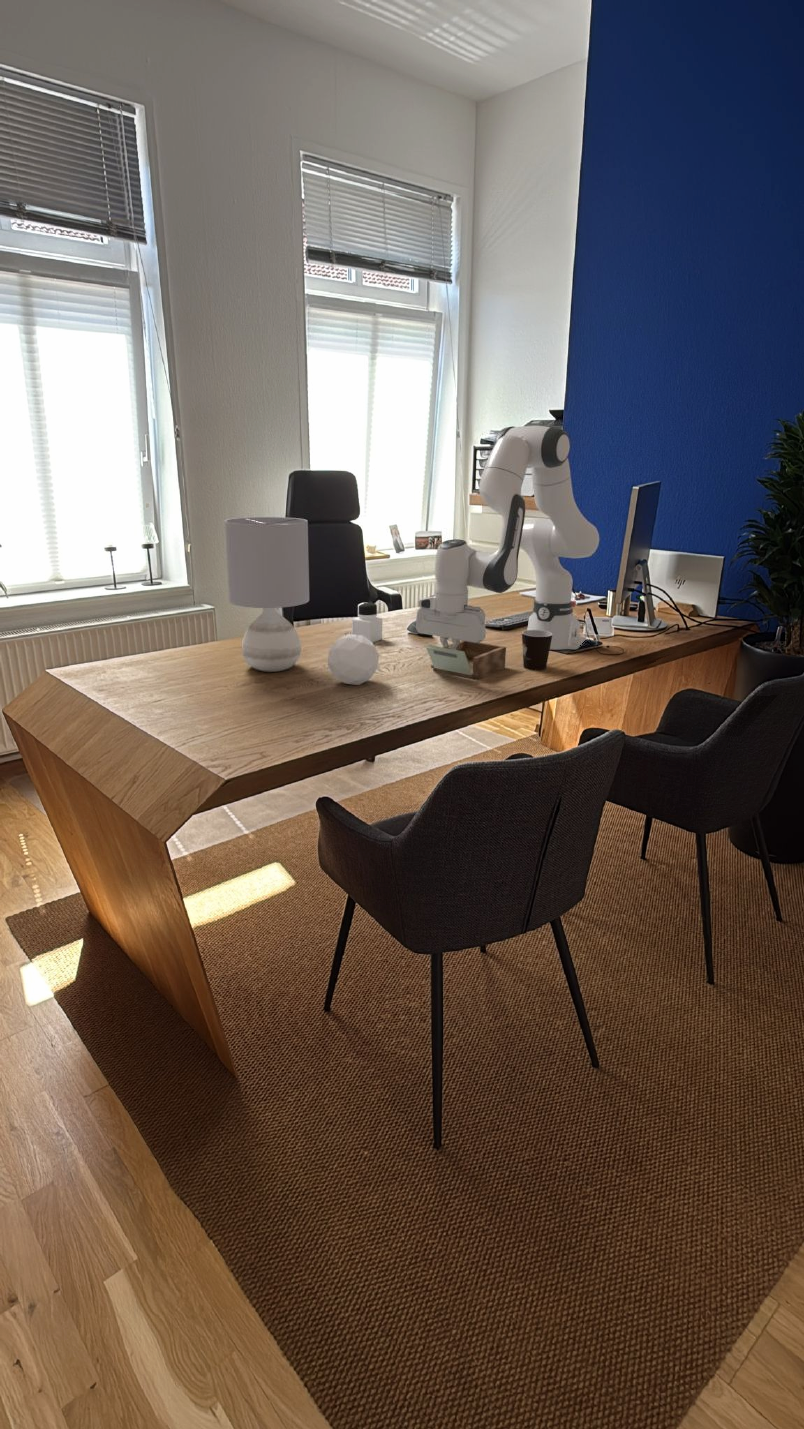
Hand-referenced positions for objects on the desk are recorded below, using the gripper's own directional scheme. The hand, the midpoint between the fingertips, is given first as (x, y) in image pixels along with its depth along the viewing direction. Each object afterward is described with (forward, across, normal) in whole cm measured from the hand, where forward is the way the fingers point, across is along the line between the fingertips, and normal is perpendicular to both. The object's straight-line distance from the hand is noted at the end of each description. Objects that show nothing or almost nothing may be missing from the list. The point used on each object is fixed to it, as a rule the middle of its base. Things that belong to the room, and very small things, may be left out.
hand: (449, 653), depth 212 cm
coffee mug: (+7, -13, -26) cm, 30 cm away
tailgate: (+5, 0, -2) cm, 6 cm away
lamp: (+6, +44, +23) cm, 50 cm away
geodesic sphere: (+7, +17, +20) cm, 27 cm away
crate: (+7, 0, -11) cm, 13 cm away
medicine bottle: (+7, +44, -20) cm, 49 cm away
